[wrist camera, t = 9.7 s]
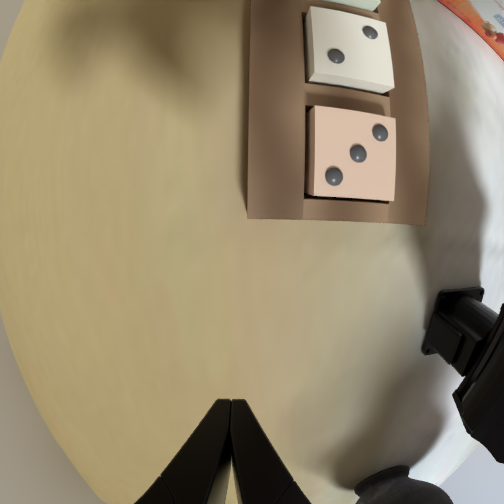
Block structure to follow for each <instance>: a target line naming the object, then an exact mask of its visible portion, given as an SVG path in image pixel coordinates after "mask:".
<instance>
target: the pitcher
mask: <svg viewBox="0 0 504 504" xmlns="http://www.w3.org/2000/svg"><path fill="white" fill-rule="evenodd" d="M409 470H410V468H409V467H408V466H398V467H394V468H391V469H387V470H384V471H382V472H380V473H377V474H375V475H373V476H372V477H370V478H368V479H366V480H364V481H363V482H361V483H360V484H359V485H358V486H357V487H356V488H355V494H356V495H358V496H359V497H360V498H359V499H358V501H357V502H356V504H453V502H452V500H451V499H450V497H449V496H448V495H447V493H445V492H444V491H443V490H442V489H441V488H439V487H438V486H436V485H434V484H431V483H428V482H425V481H420V480H415V479H411V478H409V477H408V475H409Z"/></svg>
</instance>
